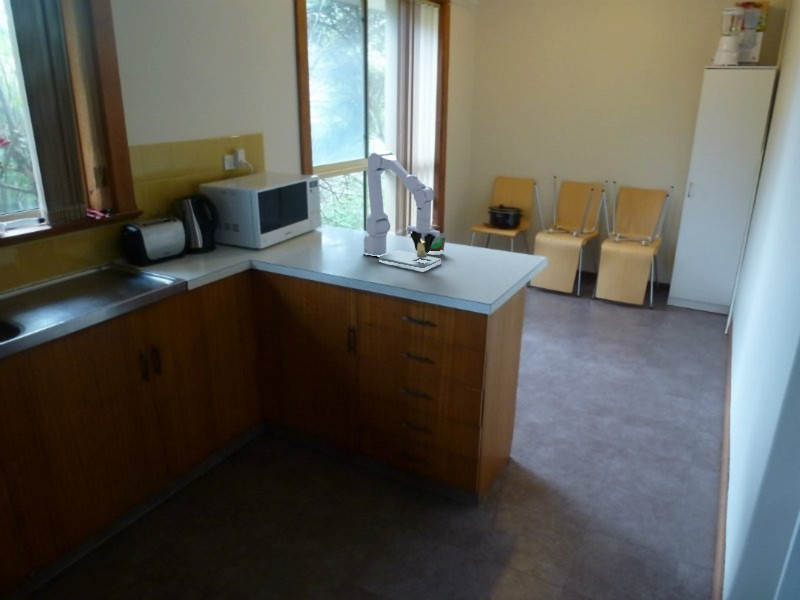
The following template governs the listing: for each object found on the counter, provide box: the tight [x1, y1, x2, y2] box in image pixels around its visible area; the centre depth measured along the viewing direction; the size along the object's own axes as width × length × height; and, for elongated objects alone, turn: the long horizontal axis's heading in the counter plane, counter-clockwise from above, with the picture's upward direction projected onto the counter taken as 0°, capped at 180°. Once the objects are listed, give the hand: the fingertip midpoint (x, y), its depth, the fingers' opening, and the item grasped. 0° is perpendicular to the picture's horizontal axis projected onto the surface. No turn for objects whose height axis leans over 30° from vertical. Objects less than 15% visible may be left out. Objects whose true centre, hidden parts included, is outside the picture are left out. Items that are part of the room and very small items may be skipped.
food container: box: [421, 231, 448, 251], centre depth 259 cm, size 12×6×10 cm, turn 62°
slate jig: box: [378, 249, 442, 268], centre depth 245 cm, size 22×14×2 cm, turn 56°
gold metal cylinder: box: [416, 240, 428, 258], centre depth 240 cm, size 4×4×6 cm
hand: (422, 251), depth 240 cm, fingers closed on gold metal cylinder, 4 cm apart
